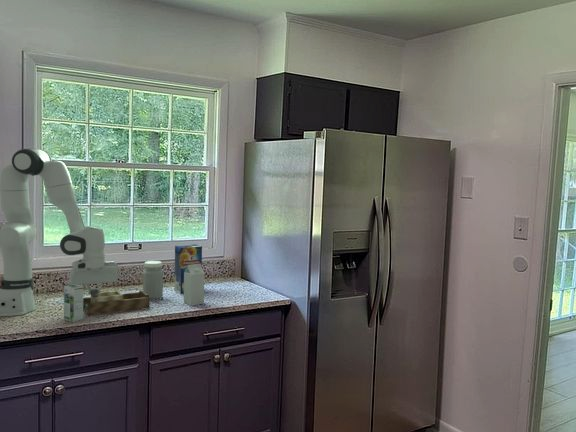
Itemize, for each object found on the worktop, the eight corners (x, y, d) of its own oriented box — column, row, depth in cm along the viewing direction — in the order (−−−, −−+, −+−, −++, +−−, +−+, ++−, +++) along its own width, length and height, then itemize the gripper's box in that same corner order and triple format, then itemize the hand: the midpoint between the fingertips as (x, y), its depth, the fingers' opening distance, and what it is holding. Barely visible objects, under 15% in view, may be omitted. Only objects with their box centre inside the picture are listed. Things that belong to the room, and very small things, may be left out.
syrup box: (63, 319, 219) (63, 285, 217) (75, 316, 224) (75, 283, 222) (71, 322, 216) (71, 287, 214) (84, 319, 221) (83, 285, 219)
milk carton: (183, 302, 252) (184, 263, 250) (196, 300, 257) (197, 262, 255) (190, 306, 247) (191, 266, 245) (203, 303, 251) (204, 264, 250)
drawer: (94, 311, 229) (94, 291, 228) (89, 306, 236) (89, 286, 235) (123, 307, 236) (123, 288, 235) (117, 303, 243) (117, 284, 242)
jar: (160, 300, 254) (160, 264, 252) (140, 300, 254) (140, 263, 252) (164, 295, 264) (165, 260, 262) (145, 295, 264) (145, 260, 262)
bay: (88, 315, 226) (88, 301, 225) (81, 308, 236) (81, 295, 235) (149, 308, 241) (149, 295, 240) (141, 302, 251) (141, 289, 250)
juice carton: (180, 294, 269) (181, 247, 267) (174, 291, 275) (174, 245, 272) (201, 291, 276) (202, 246, 274) (194, 288, 282) (195, 244, 280)
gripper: (115, 259, 239) (115, 289, 240) (68, 262, 228) (68, 294, 229) (119, 262, 234) (119, 292, 235) (71, 265, 223) (71, 297, 224)
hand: (93, 293), depth 232 cm, fingers closed on drawer, 2 cm apart
